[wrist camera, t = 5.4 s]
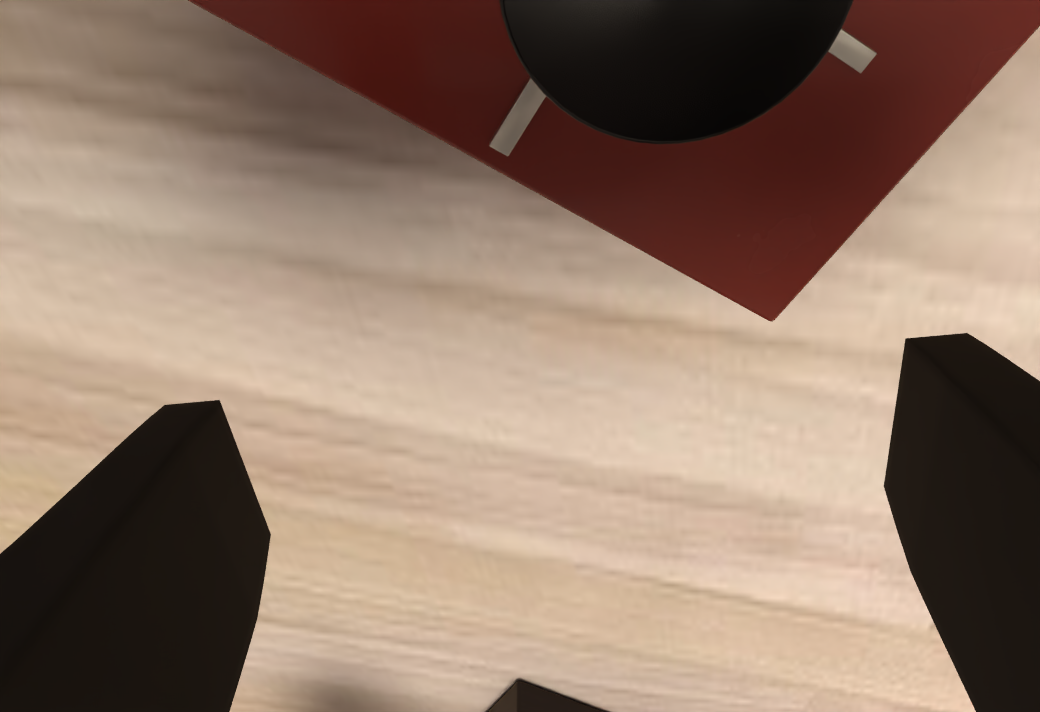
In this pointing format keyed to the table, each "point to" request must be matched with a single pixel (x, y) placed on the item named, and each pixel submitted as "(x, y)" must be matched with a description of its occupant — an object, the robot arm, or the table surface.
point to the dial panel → (674, 167)
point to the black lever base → (536, 701)
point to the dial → (670, 60)
